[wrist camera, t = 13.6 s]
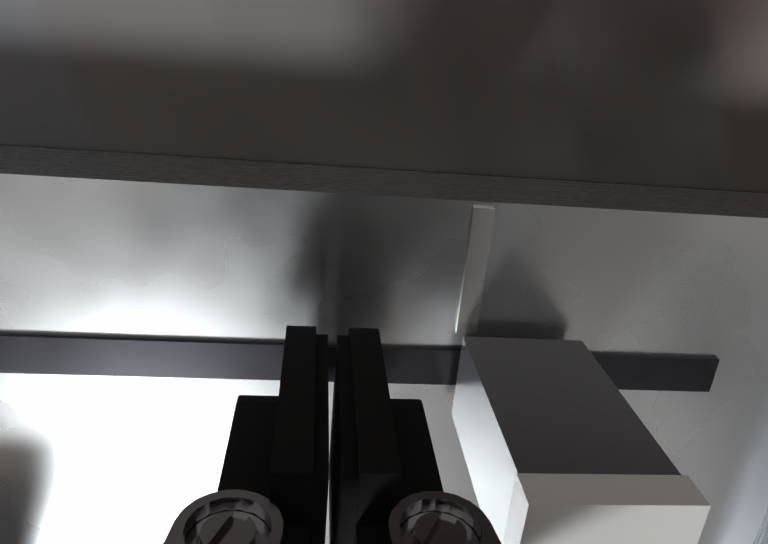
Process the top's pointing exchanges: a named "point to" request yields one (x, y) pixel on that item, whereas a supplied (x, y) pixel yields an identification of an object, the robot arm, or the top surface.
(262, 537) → the robot arm
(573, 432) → the fader cap
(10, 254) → the console
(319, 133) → the top surface
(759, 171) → the top surface
